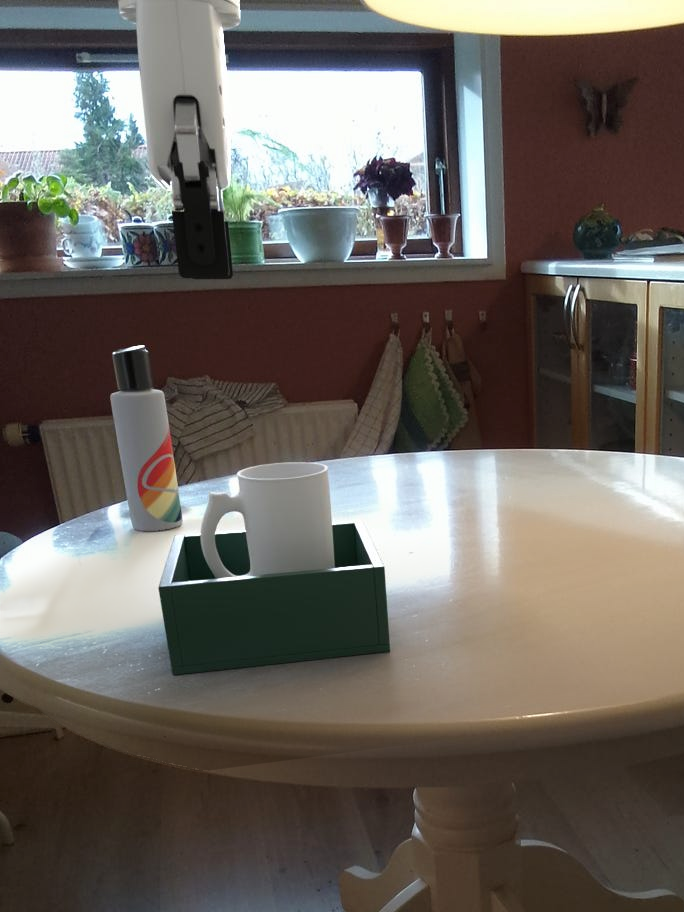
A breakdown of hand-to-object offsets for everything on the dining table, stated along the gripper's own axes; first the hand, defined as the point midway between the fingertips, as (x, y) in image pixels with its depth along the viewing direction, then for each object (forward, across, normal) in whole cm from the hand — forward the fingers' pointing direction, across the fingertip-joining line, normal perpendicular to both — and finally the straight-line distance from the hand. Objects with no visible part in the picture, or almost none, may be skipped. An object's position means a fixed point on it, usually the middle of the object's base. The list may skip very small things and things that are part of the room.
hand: (208, 278), depth 65 cm
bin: (+26, +2, +3) cm, 26 cm away
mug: (+26, +2, +3) cm, 26 cm away
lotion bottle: (+27, -38, -10) cm, 48 cm away
